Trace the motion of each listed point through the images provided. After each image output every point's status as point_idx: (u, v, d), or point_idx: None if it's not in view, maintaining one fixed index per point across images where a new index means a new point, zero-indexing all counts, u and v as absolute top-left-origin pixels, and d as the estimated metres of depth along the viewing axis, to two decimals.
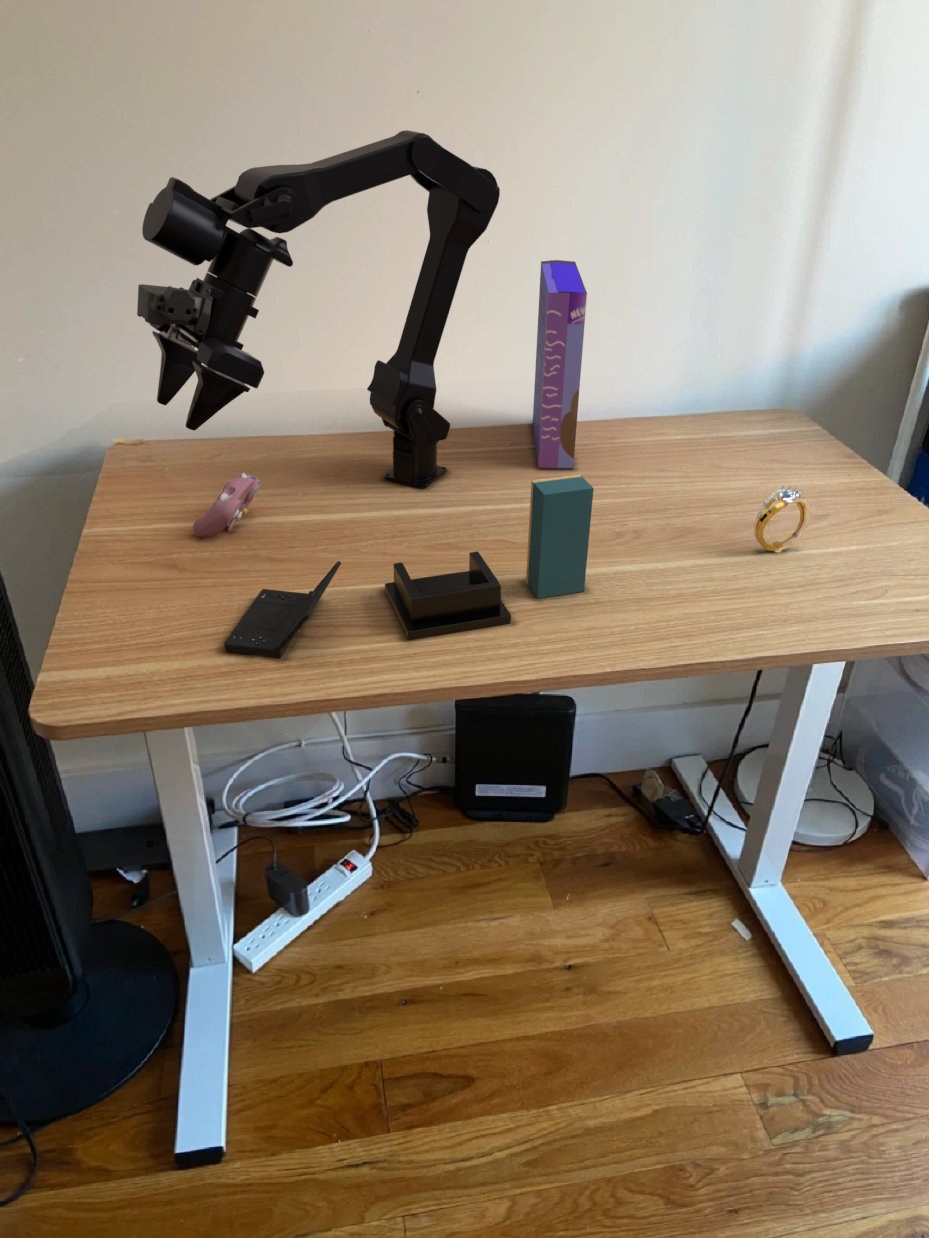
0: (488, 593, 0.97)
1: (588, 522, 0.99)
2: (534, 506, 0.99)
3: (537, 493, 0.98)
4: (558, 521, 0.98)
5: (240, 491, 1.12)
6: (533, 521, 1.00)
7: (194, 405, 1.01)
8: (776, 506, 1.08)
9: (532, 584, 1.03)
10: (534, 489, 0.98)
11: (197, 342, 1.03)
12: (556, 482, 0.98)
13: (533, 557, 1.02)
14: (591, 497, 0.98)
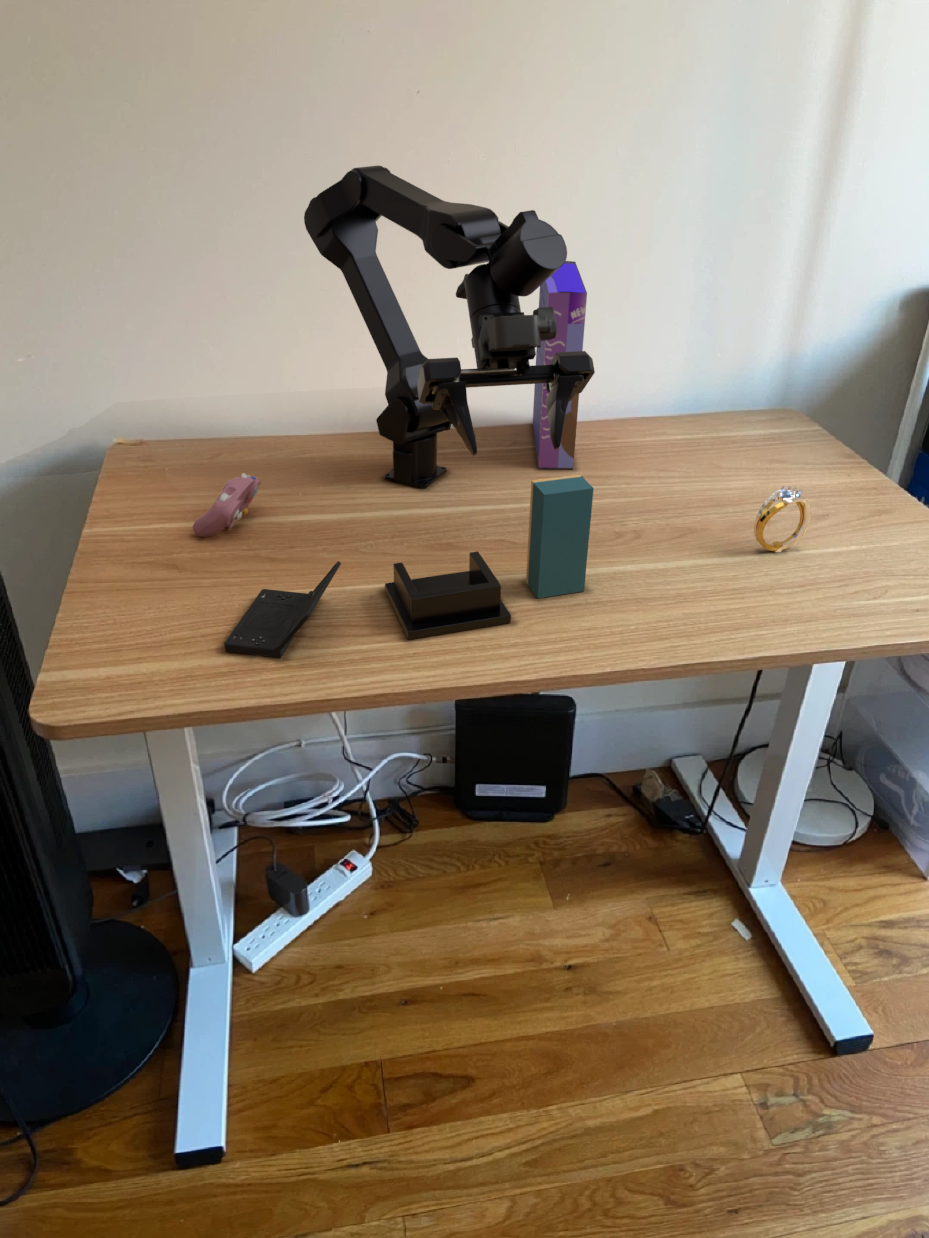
0: (488, 593, 0.97)
1: (588, 522, 0.99)
2: (534, 506, 0.99)
3: (537, 493, 0.98)
4: (558, 521, 0.98)
5: (240, 491, 1.12)
6: (533, 521, 1.00)
7: (563, 420, 1.03)
8: (776, 506, 1.08)
9: (532, 584, 1.03)
10: (534, 489, 0.98)
11: (516, 371, 1.02)
12: (556, 482, 0.98)
13: (533, 557, 1.02)
14: (591, 497, 0.98)
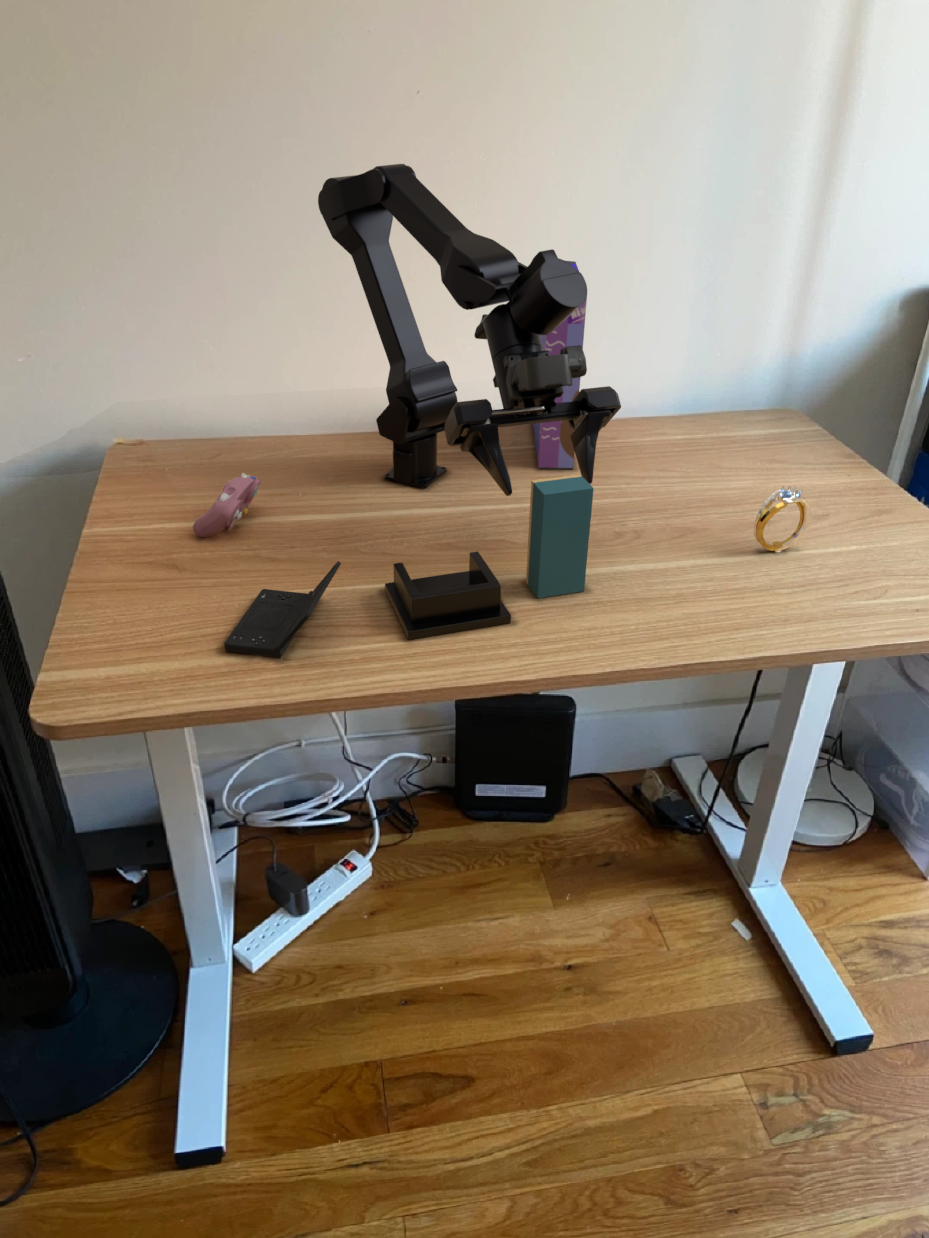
0: (488, 593, 0.97)
1: (588, 522, 0.99)
2: (534, 506, 0.99)
3: (537, 493, 0.98)
4: (558, 521, 0.98)
5: (240, 491, 1.12)
6: (533, 521, 1.00)
7: (593, 456, 1.03)
8: (776, 506, 1.08)
9: (532, 584, 1.03)
10: (534, 489, 0.98)
11: (544, 409, 1.02)
12: (556, 482, 0.98)
13: (533, 557, 1.02)
14: (591, 497, 0.98)
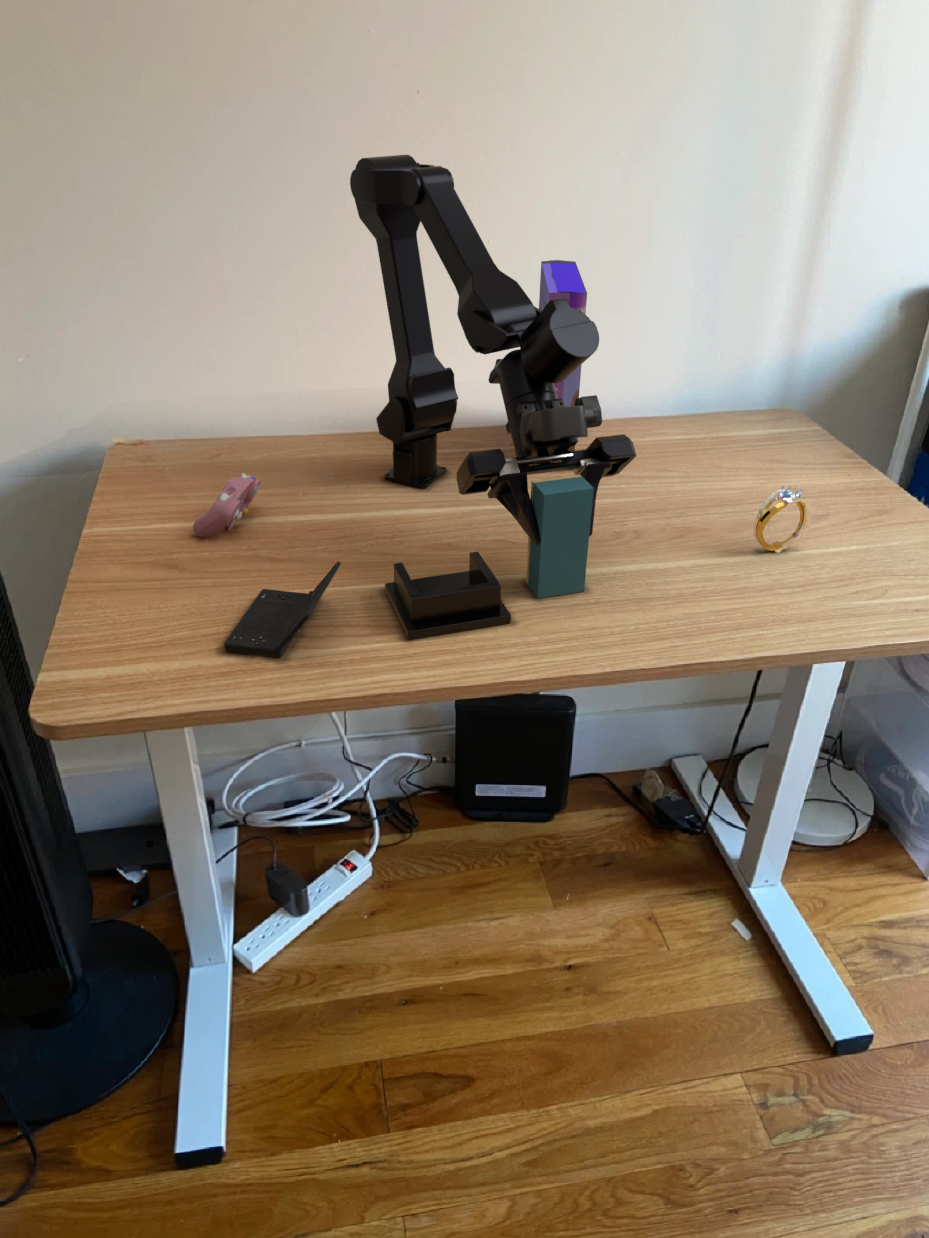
0: (488, 593, 0.97)
1: (588, 522, 0.99)
2: (534, 506, 0.99)
3: (537, 493, 0.98)
4: (558, 521, 0.98)
5: (240, 491, 1.12)
6: None
7: (593, 508, 1.01)
8: (776, 506, 1.08)
9: (532, 584, 1.03)
10: (535, 489, 0.98)
11: (573, 456, 1.01)
12: (556, 482, 0.98)
13: (533, 557, 1.02)
14: (591, 497, 0.98)
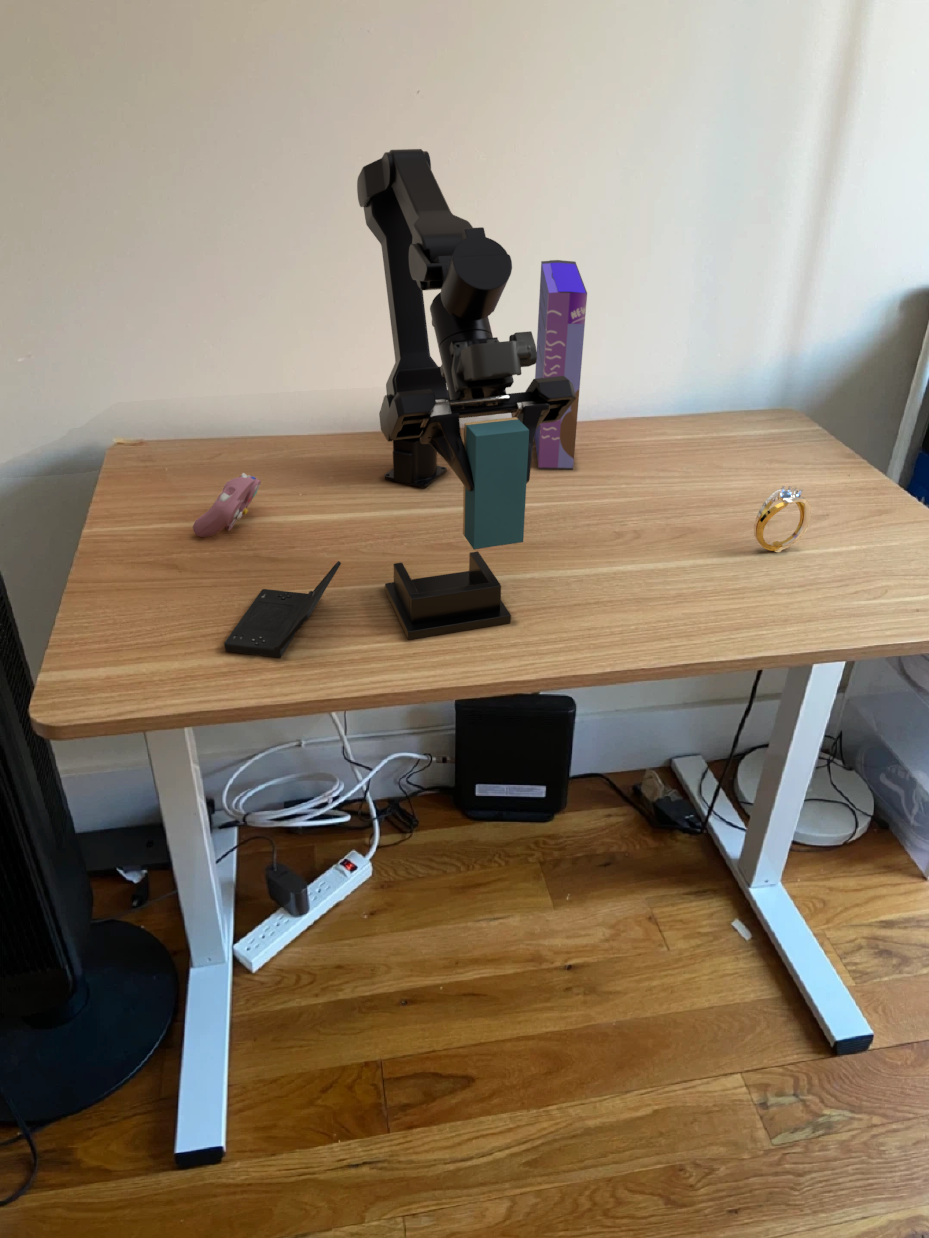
0: (488, 593, 0.97)
1: (525, 467, 0.94)
2: (467, 450, 0.94)
3: (469, 435, 0.92)
4: (492, 465, 0.93)
5: (240, 491, 1.12)
6: None
7: (531, 453, 0.95)
8: (776, 506, 1.08)
9: (468, 535, 0.98)
10: (467, 432, 0.93)
11: (509, 398, 0.96)
12: (490, 424, 0.93)
13: (468, 505, 0.97)
14: (527, 440, 0.93)
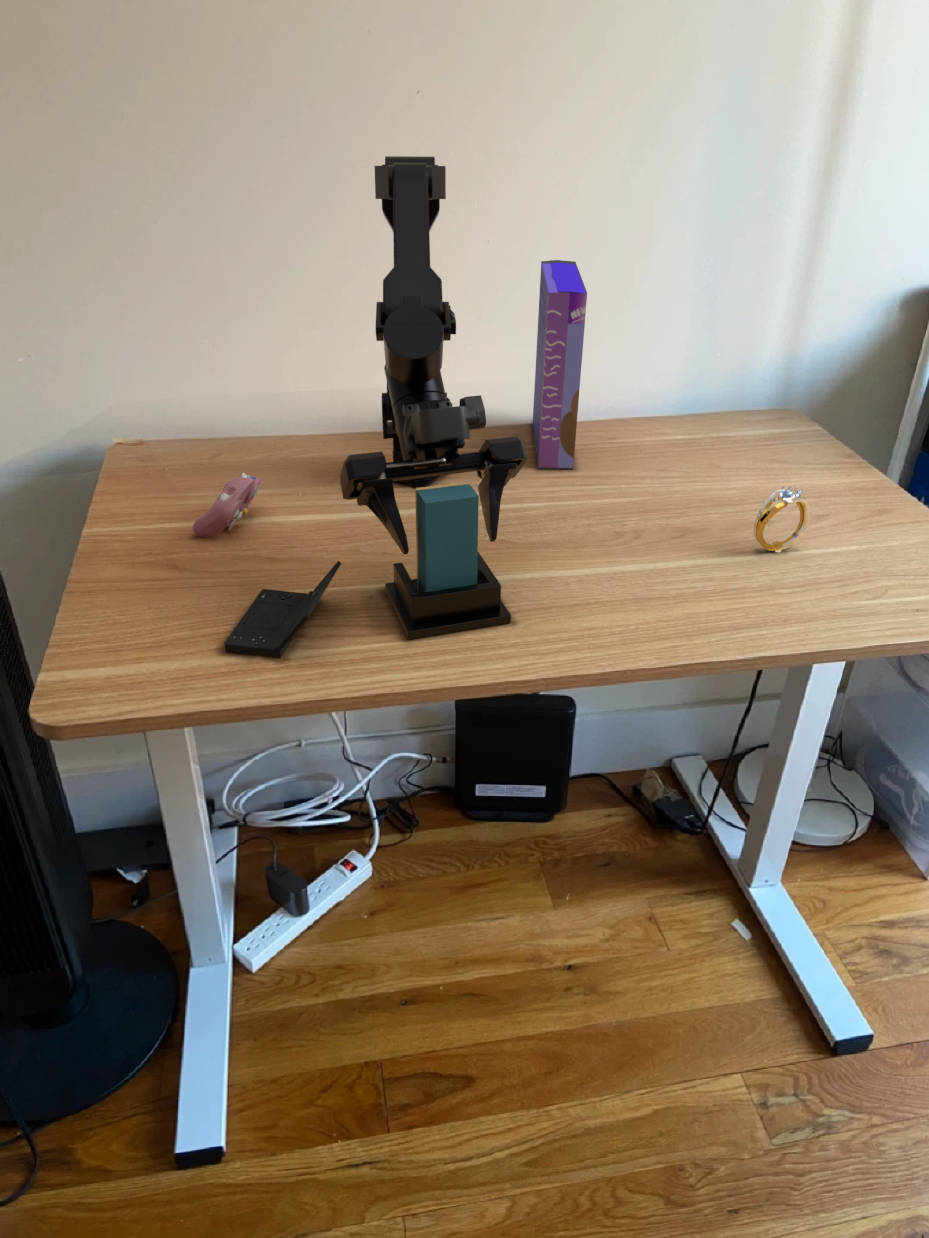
0: (488, 593, 0.97)
1: (475, 531, 0.95)
2: (418, 515, 0.95)
3: (420, 501, 0.93)
4: (442, 530, 0.94)
5: (240, 491, 1.12)
6: (419, 530, 0.96)
7: (498, 511, 0.97)
8: (776, 506, 1.08)
9: None
10: (418, 497, 0.94)
11: (445, 461, 0.96)
12: (441, 490, 0.94)
13: (421, 568, 0.97)
14: (477, 505, 0.94)
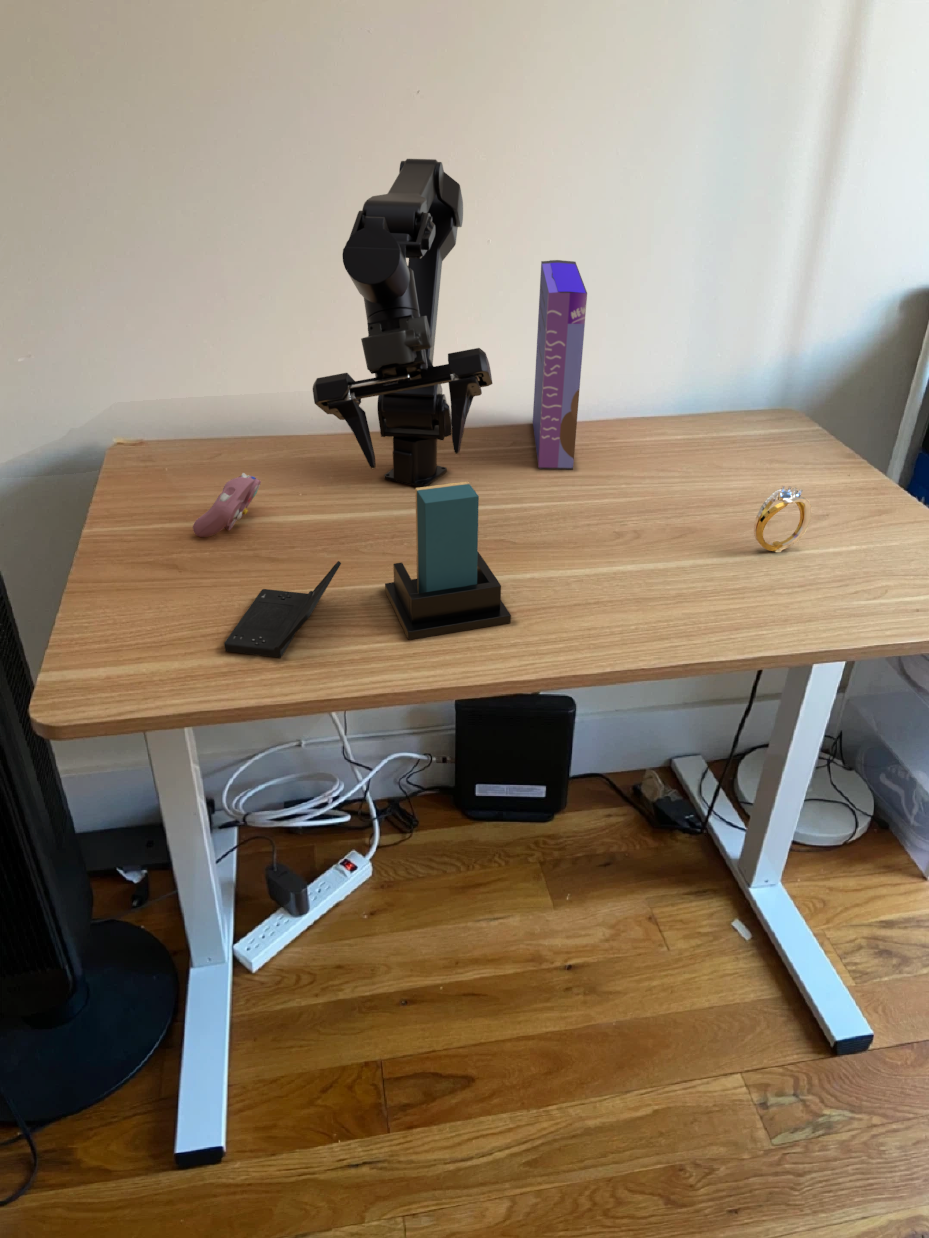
0: (488, 593, 0.97)
1: (475, 531, 0.95)
2: (418, 515, 0.95)
3: (420, 501, 0.93)
4: (442, 530, 0.94)
5: (240, 491, 1.12)
6: (419, 530, 0.96)
7: (459, 425, 1.00)
8: (776, 506, 1.08)
9: None
10: (418, 497, 0.94)
11: (409, 377, 1.00)
12: (441, 490, 0.94)
13: (421, 568, 0.97)
14: (477, 505, 0.94)
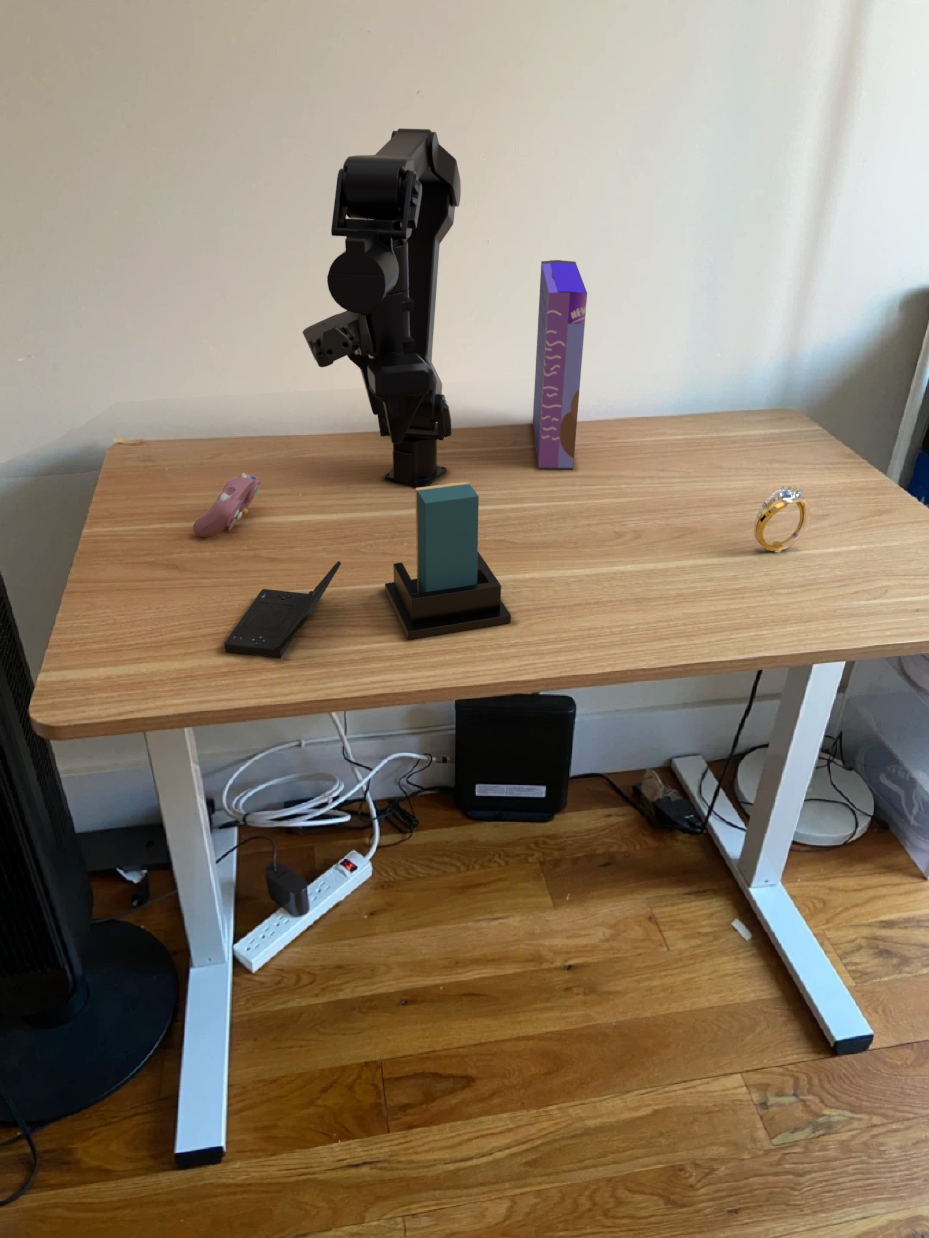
0: (488, 593, 0.97)
1: (475, 531, 0.95)
2: (418, 515, 0.95)
3: (420, 501, 0.93)
4: (442, 530, 0.94)
5: (240, 491, 1.12)
6: (419, 530, 0.96)
7: (389, 423, 1.03)
8: (776, 506, 1.08)
9: None
10: (418, 497, 0.94)
11: (373, 358, 1.03)
12: (441, 490, 0.94)
13: (421, 568, 0.97)
14: (477, 505, 0.94)
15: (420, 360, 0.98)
